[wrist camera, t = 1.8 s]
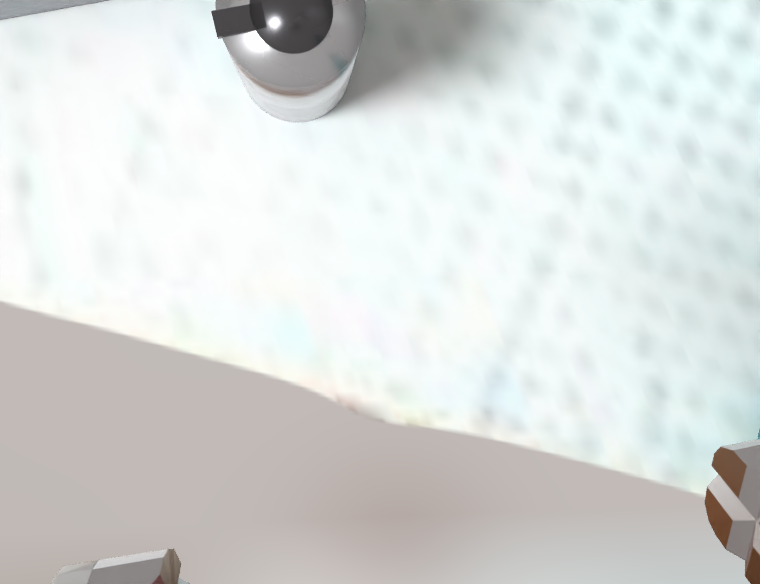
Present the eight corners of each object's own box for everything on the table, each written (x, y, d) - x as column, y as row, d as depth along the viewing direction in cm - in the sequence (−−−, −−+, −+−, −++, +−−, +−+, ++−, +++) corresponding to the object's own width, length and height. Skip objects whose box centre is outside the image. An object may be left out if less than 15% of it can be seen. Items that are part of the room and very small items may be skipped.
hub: (337, -1, 30) (348, -82, 22) (361, 110, 31) (380, 71, 23) (225, 19, 30) (195, -55, 22) (252, 132, 31) (232, 100, 22)
